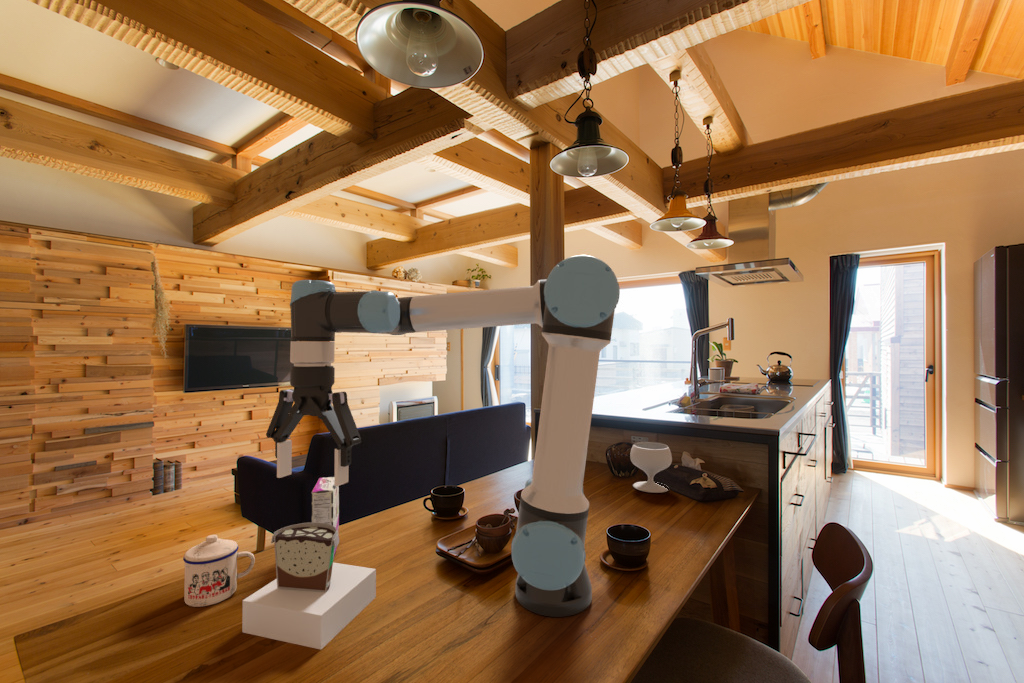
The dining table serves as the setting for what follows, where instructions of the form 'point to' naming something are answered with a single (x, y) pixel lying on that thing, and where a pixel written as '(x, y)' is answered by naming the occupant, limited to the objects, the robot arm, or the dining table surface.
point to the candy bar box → (326, 503)
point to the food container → (305, 556)
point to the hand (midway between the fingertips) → (312, 480)
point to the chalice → (650, 463)
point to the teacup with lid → (212, 571)
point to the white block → (309, 608)
